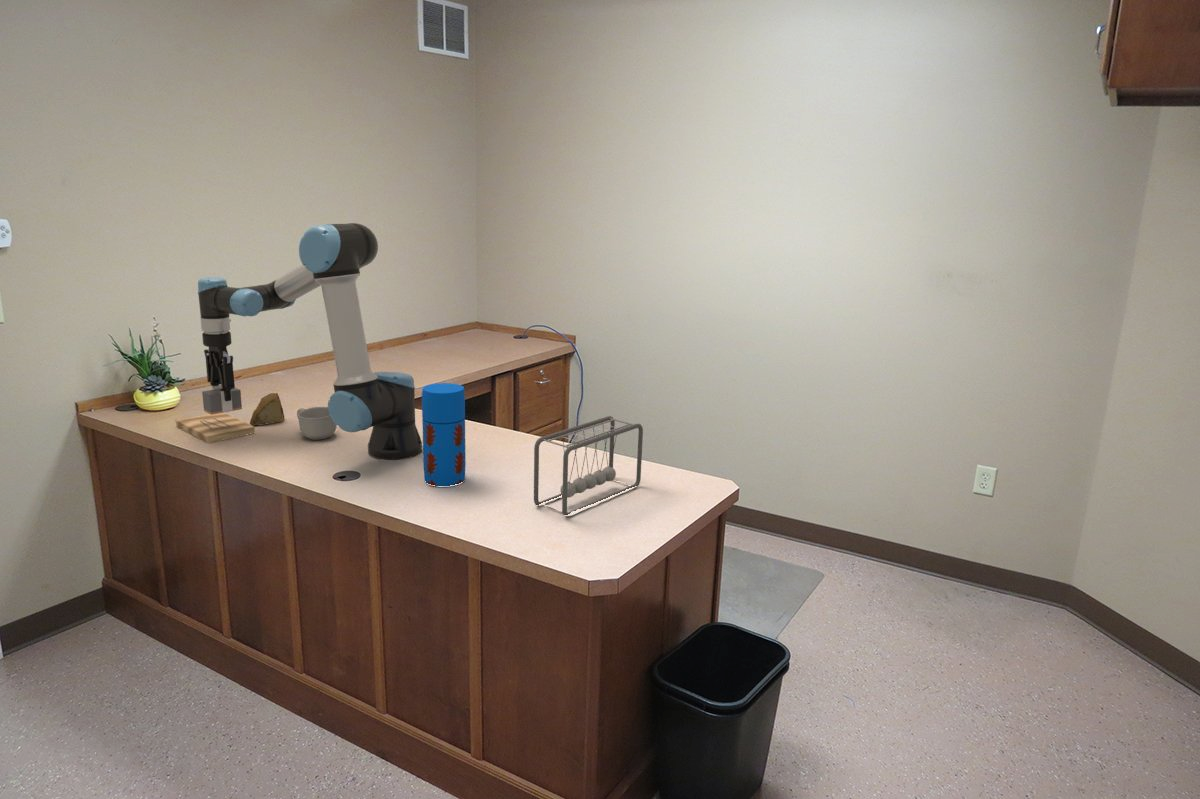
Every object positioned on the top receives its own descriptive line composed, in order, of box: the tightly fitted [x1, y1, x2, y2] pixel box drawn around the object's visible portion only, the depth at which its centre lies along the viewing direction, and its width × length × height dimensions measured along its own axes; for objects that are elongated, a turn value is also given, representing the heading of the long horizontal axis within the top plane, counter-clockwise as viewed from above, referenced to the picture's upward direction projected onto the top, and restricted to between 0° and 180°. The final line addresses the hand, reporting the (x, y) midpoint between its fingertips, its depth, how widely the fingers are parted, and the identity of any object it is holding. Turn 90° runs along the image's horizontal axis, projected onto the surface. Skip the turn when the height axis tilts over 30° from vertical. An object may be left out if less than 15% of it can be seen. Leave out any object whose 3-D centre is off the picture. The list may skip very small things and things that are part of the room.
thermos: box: [421, 382, 467, 486], centre depth 212 cm, size 11×11×25 cm
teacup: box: [296, 406, 337, 441], centre depth 246 cm, size 14×11×8 cm
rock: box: [249, 392, 285, 427], centre depth 258 cm, size 11×9×10 cm
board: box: [175, 412, 256, 444], centre depth 249 cm, size 22×14×2 cm, turn 48°
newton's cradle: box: [533, 415, 644, 516], centre depth 205 cm, size 30×10×18 cm, turn 140°
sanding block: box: [201, 387, 243, 415], centre depth 242 cm, size 5×9×6 cm, turn 138°
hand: (223, 408), depth 243 cm, fingers closed on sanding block, 5 cm apart
